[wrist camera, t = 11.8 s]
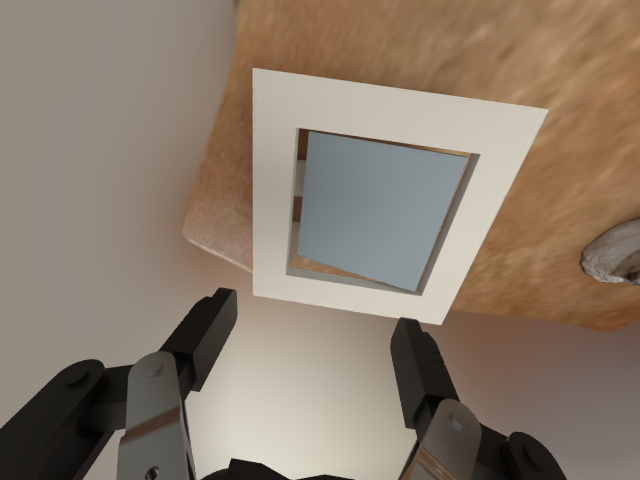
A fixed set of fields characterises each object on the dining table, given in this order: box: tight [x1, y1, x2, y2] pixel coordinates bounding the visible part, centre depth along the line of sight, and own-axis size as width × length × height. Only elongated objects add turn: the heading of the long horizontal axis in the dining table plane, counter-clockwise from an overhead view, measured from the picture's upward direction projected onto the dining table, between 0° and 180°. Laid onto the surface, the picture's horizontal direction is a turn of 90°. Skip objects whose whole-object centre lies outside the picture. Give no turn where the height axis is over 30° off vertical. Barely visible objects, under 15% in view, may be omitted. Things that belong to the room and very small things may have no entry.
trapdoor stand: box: [253, 68, 549, 325], centre depth 30 cm, size 22×22×16 cm
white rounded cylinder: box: [294, 159, 306, 197], centre depth 35 cm, size 5×5×6 cm
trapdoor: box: [297, 131, 468, 292], centre depth 25 cm, size 14×14×1 cm
